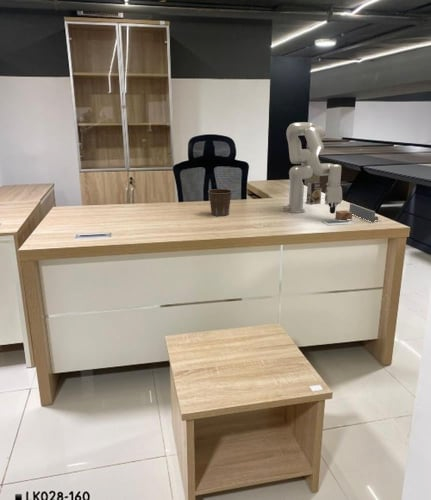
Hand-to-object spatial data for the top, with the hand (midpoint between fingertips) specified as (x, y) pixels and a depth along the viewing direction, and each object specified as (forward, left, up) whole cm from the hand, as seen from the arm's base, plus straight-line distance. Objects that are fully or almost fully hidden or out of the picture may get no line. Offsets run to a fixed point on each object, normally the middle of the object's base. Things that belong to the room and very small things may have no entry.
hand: (332, 213), depth 273 cm
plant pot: (-65, +35, -5) cm, 74 cm away
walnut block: (+9, +1, -5) cm, 10 cm away
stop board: (+24, +1, -5) cm, 24 cm away
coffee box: (+14, +53, -5) cm, 55 cm away
